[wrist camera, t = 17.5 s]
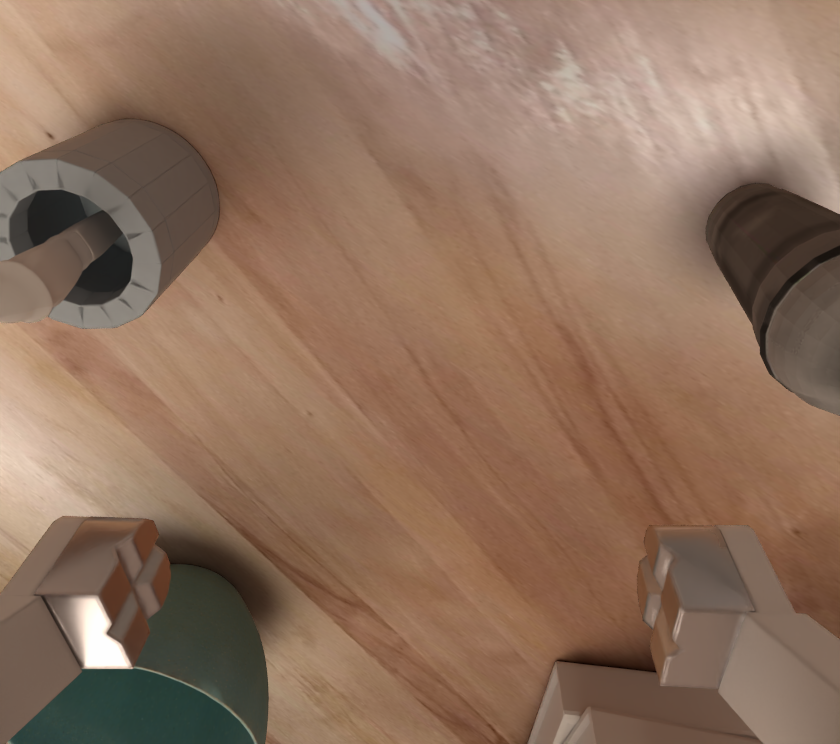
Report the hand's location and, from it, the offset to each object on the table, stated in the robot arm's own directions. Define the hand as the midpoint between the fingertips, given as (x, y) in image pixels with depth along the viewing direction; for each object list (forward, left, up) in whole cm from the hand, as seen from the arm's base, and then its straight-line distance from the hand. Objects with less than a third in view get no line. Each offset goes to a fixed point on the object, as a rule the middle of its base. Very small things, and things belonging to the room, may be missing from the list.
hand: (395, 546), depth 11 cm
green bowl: (+36, -23, -28) cm, 50 cm away
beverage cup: (+5, +16, -28) cm, 33 cm away
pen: (+2, -16, -27) cm, 31 cm away
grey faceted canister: (+2, -17, -28) cm, 32 cm away
